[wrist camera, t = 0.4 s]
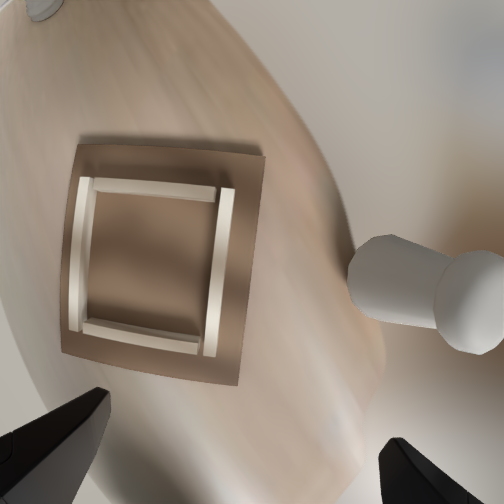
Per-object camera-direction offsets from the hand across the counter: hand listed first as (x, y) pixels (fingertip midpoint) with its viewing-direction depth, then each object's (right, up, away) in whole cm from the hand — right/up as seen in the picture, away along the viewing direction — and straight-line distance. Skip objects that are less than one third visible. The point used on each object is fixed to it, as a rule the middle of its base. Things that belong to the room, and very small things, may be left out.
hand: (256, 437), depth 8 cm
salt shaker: (+9, +4, +14) cm, 17 cm away
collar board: (-7, +5, +13) cm, 16 cm away
